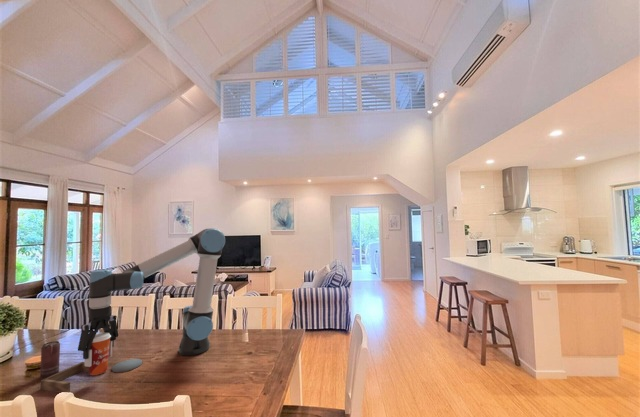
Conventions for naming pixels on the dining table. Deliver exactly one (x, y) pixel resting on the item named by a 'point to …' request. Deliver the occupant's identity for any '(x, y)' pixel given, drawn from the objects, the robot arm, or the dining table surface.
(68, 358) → the dining table surface
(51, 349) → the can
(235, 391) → the dining table surface
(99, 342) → the coffee cup
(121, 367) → the coaster
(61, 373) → the u-shaped wooden bracket
